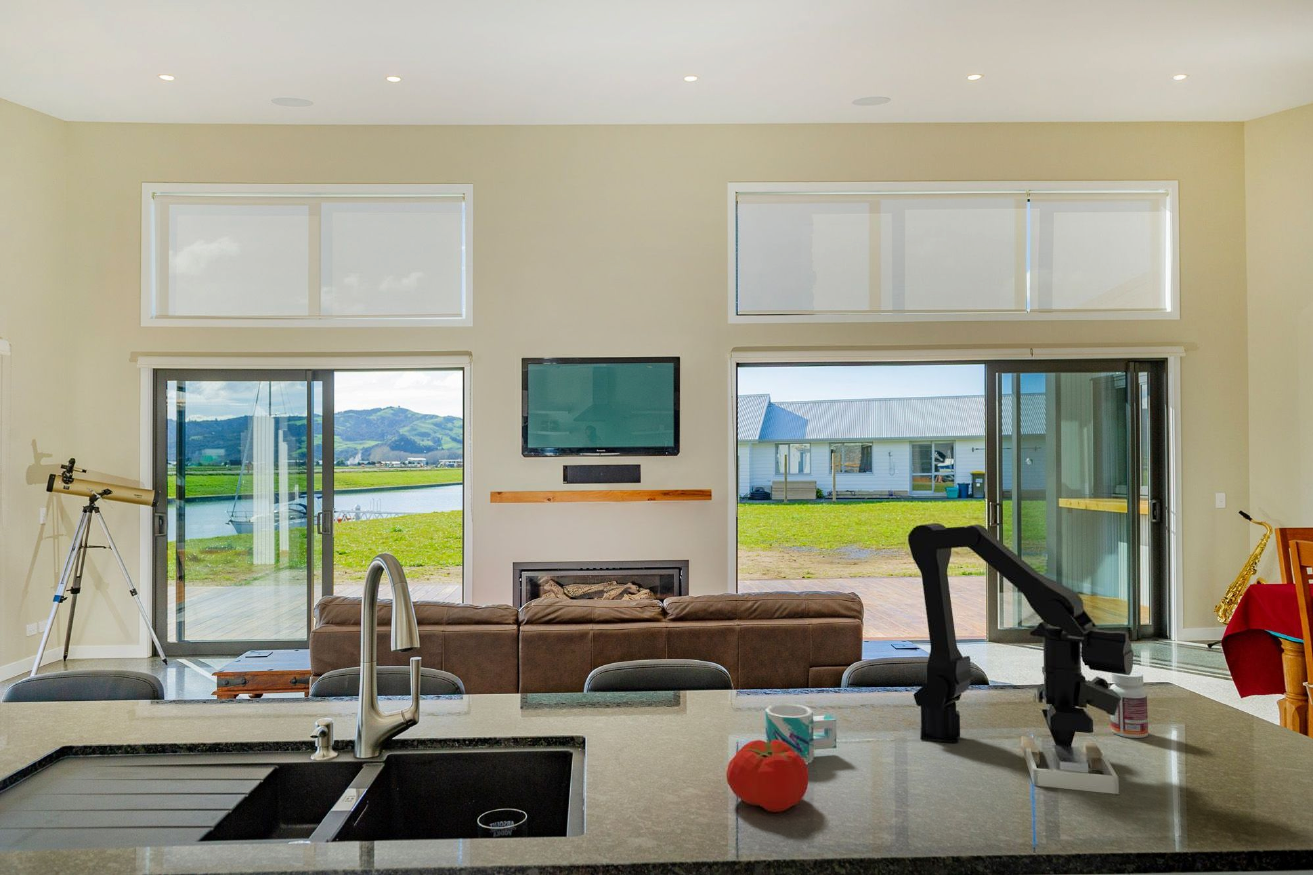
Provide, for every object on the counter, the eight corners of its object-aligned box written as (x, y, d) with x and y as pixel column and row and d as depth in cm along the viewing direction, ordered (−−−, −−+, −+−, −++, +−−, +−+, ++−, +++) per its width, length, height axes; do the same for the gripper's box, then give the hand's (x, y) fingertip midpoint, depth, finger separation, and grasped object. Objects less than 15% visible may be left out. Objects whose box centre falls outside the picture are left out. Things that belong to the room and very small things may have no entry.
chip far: (1056, 777, 134) (1056, 752, 134) (1053, 768, 138) (1052, 744, 138) (1084, 780, 133) (1083, 755, 133) (1079, 771, 137) (1079, 747, 137)
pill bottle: (1154, 734, 154) (1153, 673, 154) (1137, 741, 151) (1136, 678, 151) (1121, 726, 159) (1119, 667, 160) (1103, 732, 156) (1102, 671, 156)
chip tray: (1033, 785, 131) (1033, 769, 131) (1026, 763, 140) (1026, 748, 140) (1118, 794, 127) (1118, 777, 127) (1105, 770, 137) (1105, 755, 137)
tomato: (724, 786, 132) (723, 732, 132) (803, 787, 131) (802, 732, 131) (729, 821, 119) (728, 761, 119) (815, 821, 118) (815, 762, 119)
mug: (761, 751, 147) (760, 704, 148) (825, 746, 149) (824, 700, 150) (775, 768, 139) (774, 718, 140) (842, 763, 141) (842, 714, 141)
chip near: (1060, 787, 130) (1060, 761, 131) (1056, 777, 134) (1056, 752, 134) (1088, 789, 129) (1088, 764, 129) (1084, 780, 133) (1083, 755, 133)
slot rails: (1026, 763, 140) (1026, 751, 140) (1021, 747, 148) (1021, 736, 148) (1105, 770, 137) (1105, 758, 137) (1096, 754, 144) (1095, 742, 144)
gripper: (1128, 682, 128) (1130, 784, 128) (1104, 655, 146) (1106, 744, 146) (1049, 677, 132) (1051, 776, 131) (1035, 651, 150) (1037, 738, 149)
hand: (1064, 758), depth 139 cm, fingers closed
